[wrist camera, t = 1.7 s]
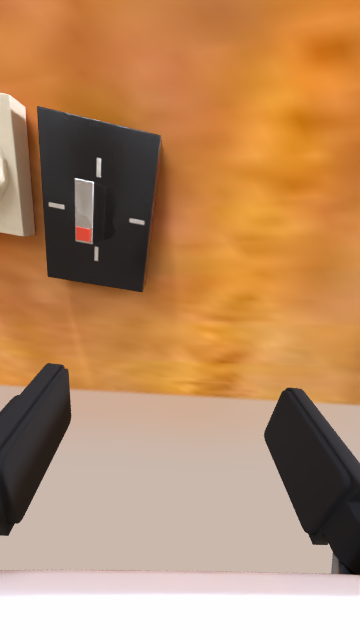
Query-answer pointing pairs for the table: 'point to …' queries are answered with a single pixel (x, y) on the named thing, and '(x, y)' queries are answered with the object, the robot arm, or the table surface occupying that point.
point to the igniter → (15, 170)
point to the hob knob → (89, 211)
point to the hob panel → (121, 197)
